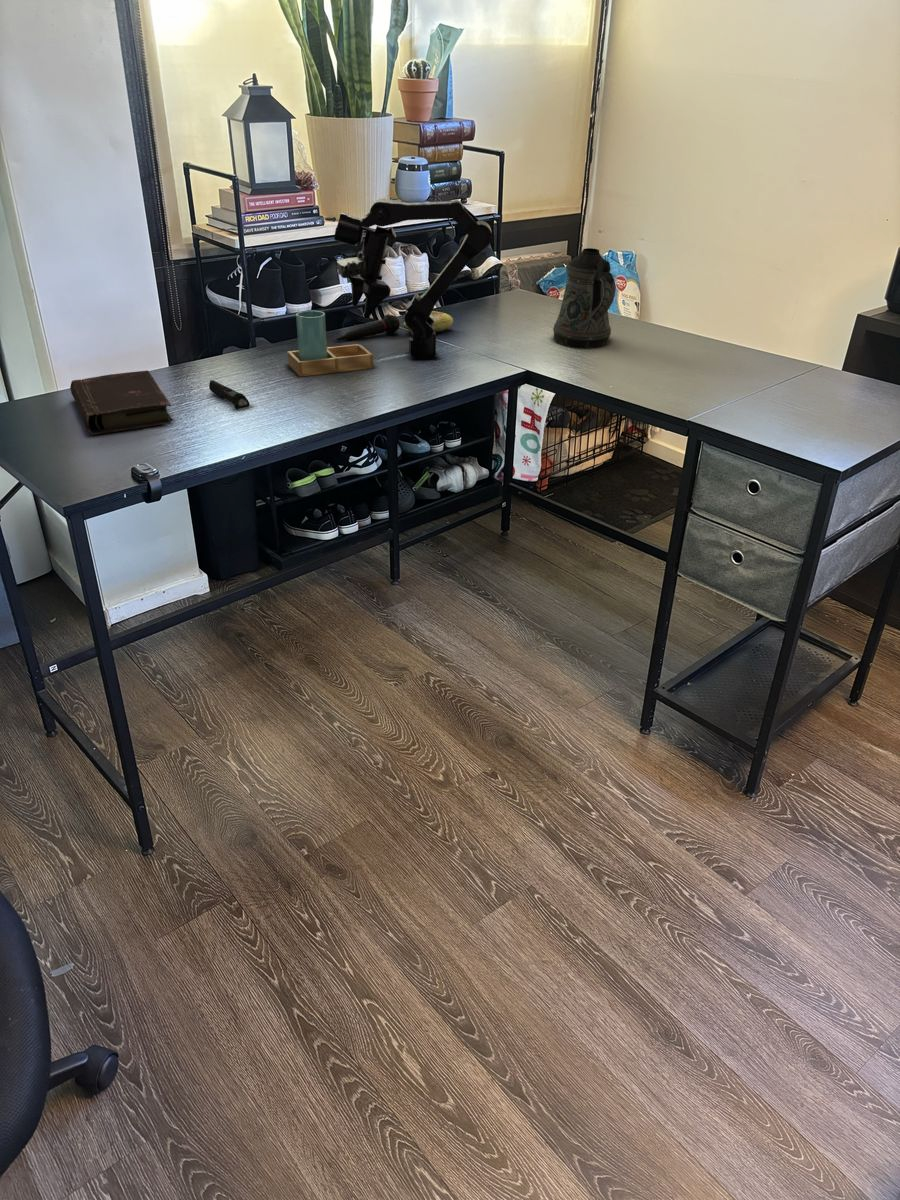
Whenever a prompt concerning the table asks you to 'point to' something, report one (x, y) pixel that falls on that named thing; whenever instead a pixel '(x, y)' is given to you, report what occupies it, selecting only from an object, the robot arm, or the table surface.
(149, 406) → the diary
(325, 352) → the tumbler
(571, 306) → the beer stein
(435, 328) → the plant cell model
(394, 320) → the microphone
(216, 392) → the electric trimmer
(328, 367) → the divided wooden tray
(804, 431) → the table surface
